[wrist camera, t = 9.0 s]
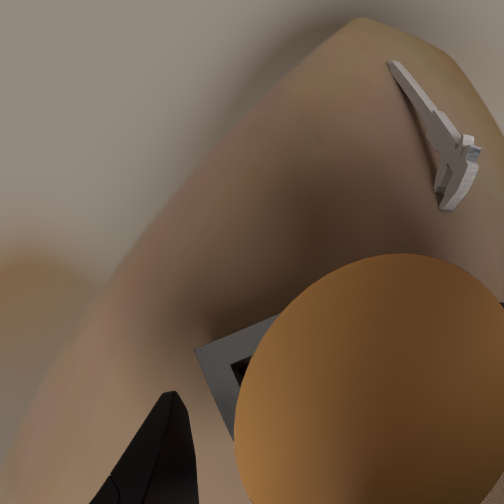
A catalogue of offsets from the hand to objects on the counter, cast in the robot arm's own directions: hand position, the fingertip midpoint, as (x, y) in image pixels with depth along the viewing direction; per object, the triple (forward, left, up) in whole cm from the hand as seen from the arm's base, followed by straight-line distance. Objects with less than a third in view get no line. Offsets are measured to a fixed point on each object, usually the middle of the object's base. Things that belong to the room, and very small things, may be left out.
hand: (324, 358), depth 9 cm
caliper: (-10, -21, -9) cm, 25 cm away
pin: (-1, +1, -8) cm, 8 cm away
